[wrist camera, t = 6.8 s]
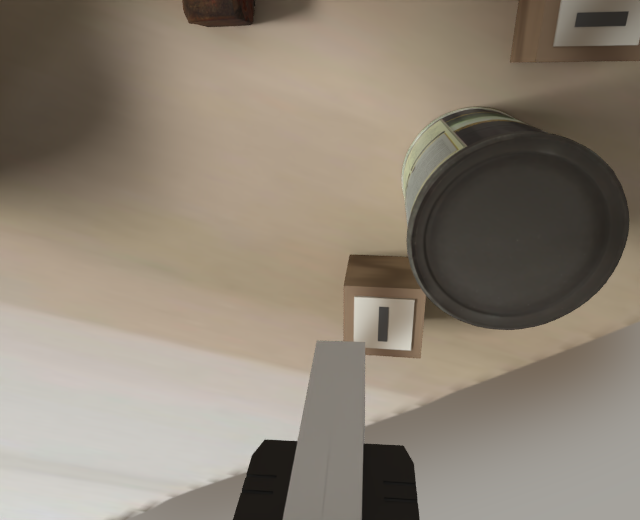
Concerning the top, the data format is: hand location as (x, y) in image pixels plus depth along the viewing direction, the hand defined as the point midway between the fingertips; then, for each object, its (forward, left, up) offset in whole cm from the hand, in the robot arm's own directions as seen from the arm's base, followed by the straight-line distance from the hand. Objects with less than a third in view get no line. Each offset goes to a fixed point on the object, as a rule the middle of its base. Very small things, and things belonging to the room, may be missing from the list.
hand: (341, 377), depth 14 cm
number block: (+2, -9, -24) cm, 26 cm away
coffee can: (+8, +1, -24) cm, 26 cm away
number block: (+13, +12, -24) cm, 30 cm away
